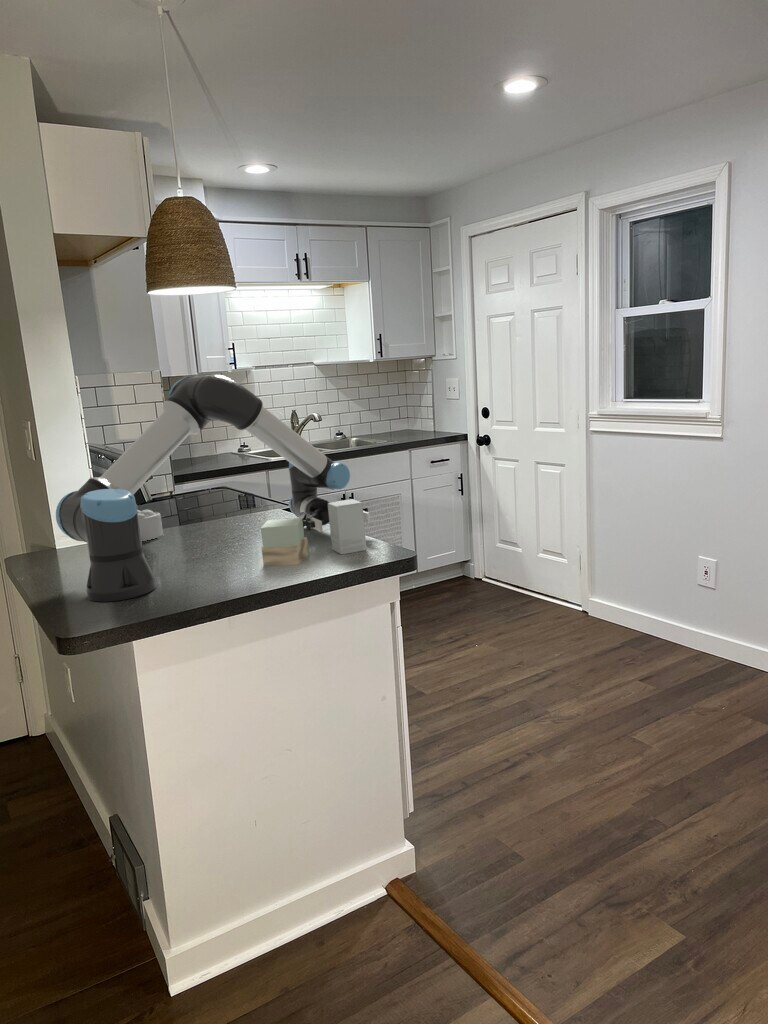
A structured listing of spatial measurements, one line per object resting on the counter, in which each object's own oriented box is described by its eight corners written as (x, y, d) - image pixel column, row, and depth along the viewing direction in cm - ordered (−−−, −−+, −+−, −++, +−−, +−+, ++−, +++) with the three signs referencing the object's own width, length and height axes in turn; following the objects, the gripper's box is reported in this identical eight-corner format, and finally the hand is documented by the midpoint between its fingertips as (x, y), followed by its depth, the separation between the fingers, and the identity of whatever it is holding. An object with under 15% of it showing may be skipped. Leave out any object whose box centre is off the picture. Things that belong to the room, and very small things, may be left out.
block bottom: (298, 565, 187) (296, 546, 186) (263, 566, 189) (261, 547, 188) (309, 556, 196) (307, 537, 195) (275, 557, 198) (273, 538, 197)
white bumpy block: (118, 539, 236) (114, 512, 234) (161, 532, 241) (157, 506, 239) (121, 545, 227) (116, 517, 225) (165, 538, 232) (161, 510, 230)
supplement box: (367, 550, 196) (363, 502, 193) (340, 555, 193) (335, 506, 191) (357, 544, 203) (353, 498, 200) (331, 549, 200) (326, 502, 198)
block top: (299, 544, 187) (297, 525, 186) (263, 547, 188) (260, 527, 187) (304, 536, 196) (302, 517, 195) (269, 539, 196) (267, 520, 195)
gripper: (358, 516, 224) (389, 528, 205) (276, 530, 214) (301, 544, 195) (355, 491, 223) (386, 501, 204) (273, 504, 212) (298, 515, 193)
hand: (345, 522), depth 199 cm, fingers open, 13 cm apart
